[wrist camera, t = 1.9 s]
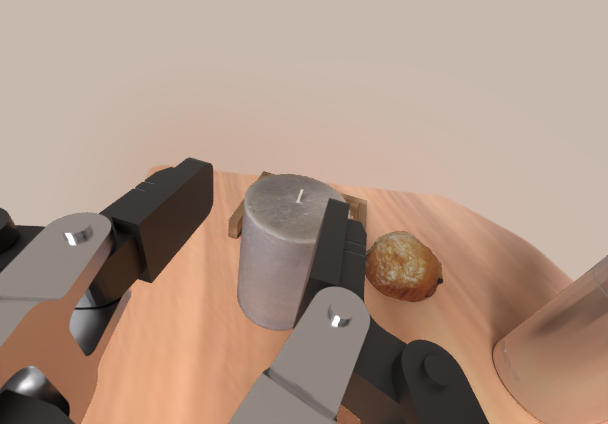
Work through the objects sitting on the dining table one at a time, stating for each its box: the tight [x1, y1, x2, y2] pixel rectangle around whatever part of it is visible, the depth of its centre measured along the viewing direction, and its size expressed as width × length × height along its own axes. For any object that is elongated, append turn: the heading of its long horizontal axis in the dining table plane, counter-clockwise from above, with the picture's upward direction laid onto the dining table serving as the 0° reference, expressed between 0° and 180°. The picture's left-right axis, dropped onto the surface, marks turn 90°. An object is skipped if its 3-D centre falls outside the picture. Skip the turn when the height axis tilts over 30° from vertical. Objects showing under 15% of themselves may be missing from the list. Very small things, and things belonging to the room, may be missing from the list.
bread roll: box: [365, 231, 443, 302], centre depth 38 cm, size 10×10×8 cm
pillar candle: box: [237, 174, 350, 331], centre depth 28 cm, size 10×10×15 cm
